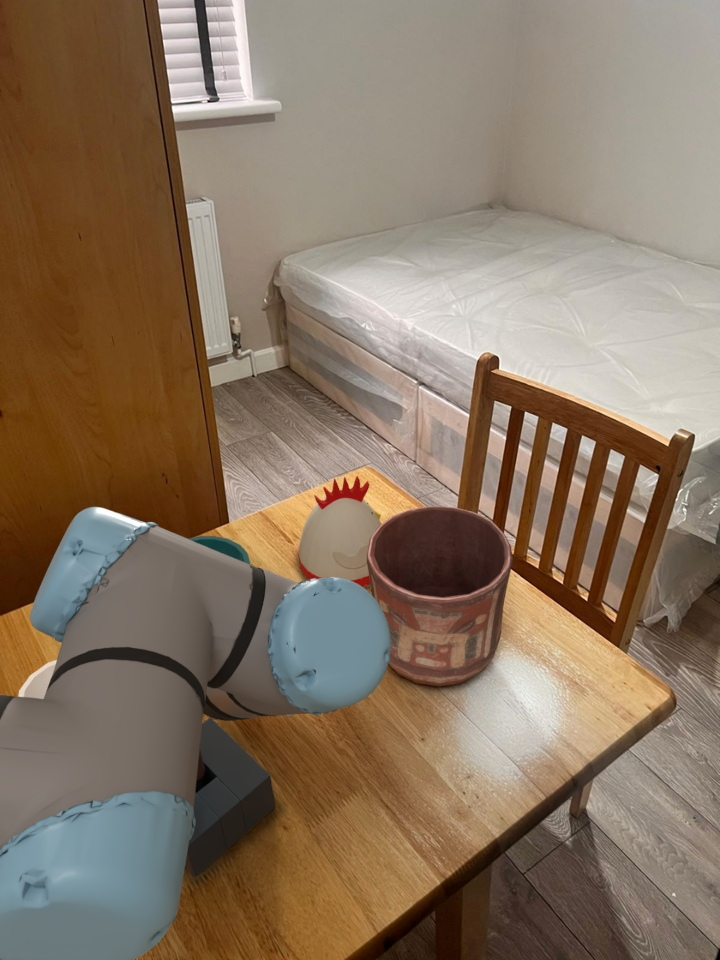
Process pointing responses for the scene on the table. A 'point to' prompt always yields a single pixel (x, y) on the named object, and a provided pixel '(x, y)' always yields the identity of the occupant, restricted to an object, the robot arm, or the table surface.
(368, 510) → the kitchen timer
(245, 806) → the holder
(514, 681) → the table surface
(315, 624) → the robot arm
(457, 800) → the table surface
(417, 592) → the pottery
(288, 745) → the table surface
